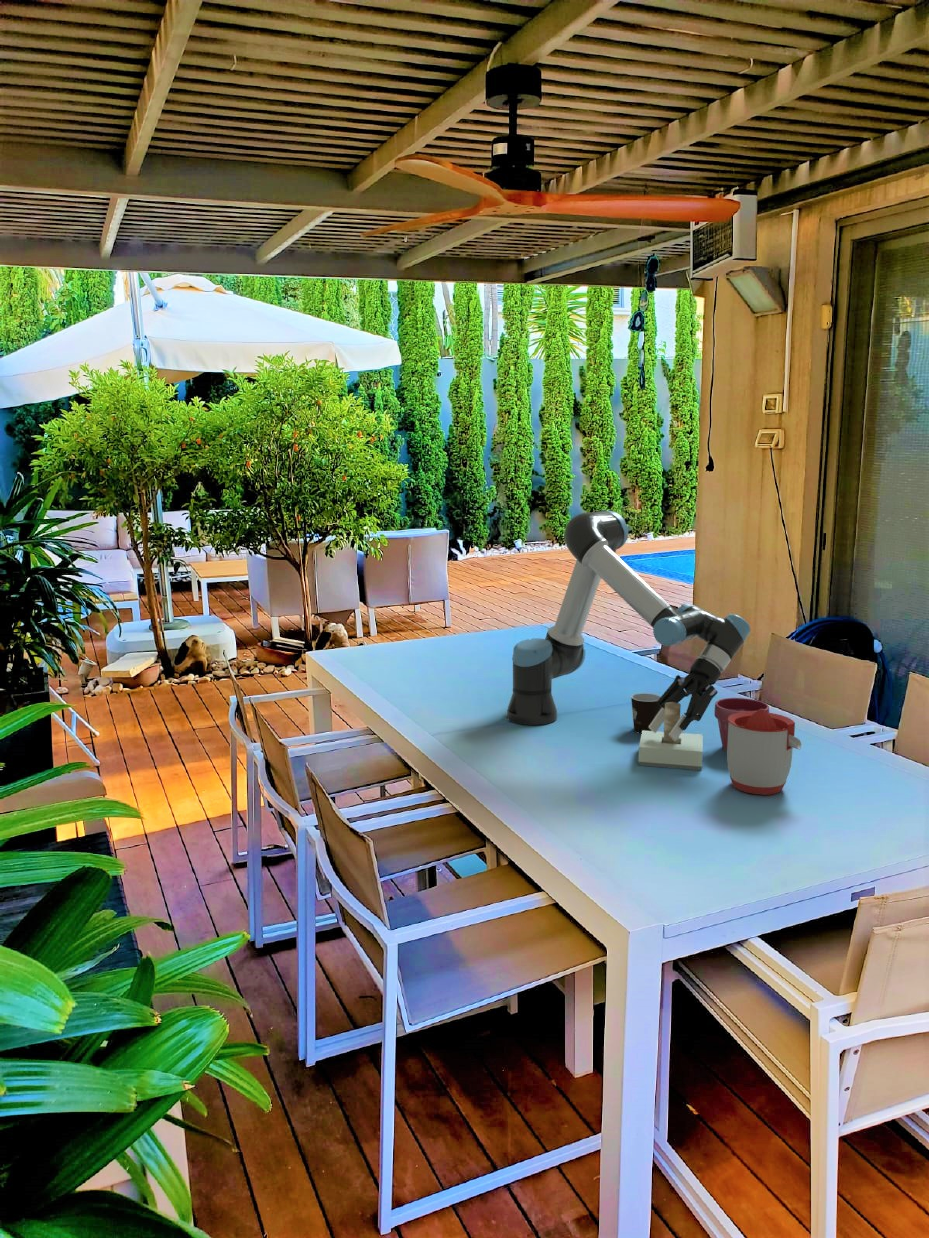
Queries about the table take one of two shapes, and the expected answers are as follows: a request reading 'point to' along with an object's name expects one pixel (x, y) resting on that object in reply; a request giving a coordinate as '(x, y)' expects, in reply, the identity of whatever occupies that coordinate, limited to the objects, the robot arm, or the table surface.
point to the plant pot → (734, 706)
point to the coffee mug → (644, 710)
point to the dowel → (671, 720)
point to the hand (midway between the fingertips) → (661, 733)
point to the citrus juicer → (760, 751)
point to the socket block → (671, 751)
